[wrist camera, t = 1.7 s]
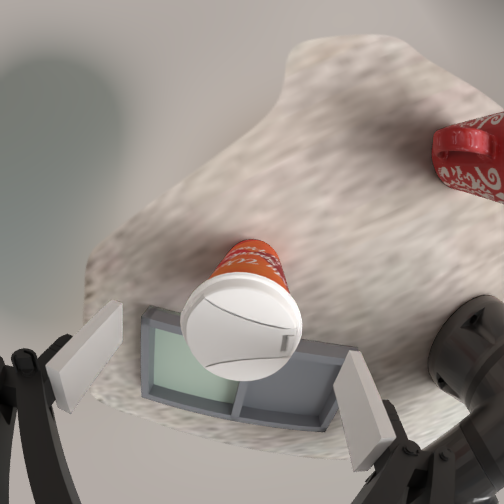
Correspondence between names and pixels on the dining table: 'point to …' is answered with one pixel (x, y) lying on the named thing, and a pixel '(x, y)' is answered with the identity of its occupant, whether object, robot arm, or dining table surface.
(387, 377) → the dining table surface
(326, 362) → the cup carrier
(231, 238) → the dining table surface
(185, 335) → the paper cup
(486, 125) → the mug
